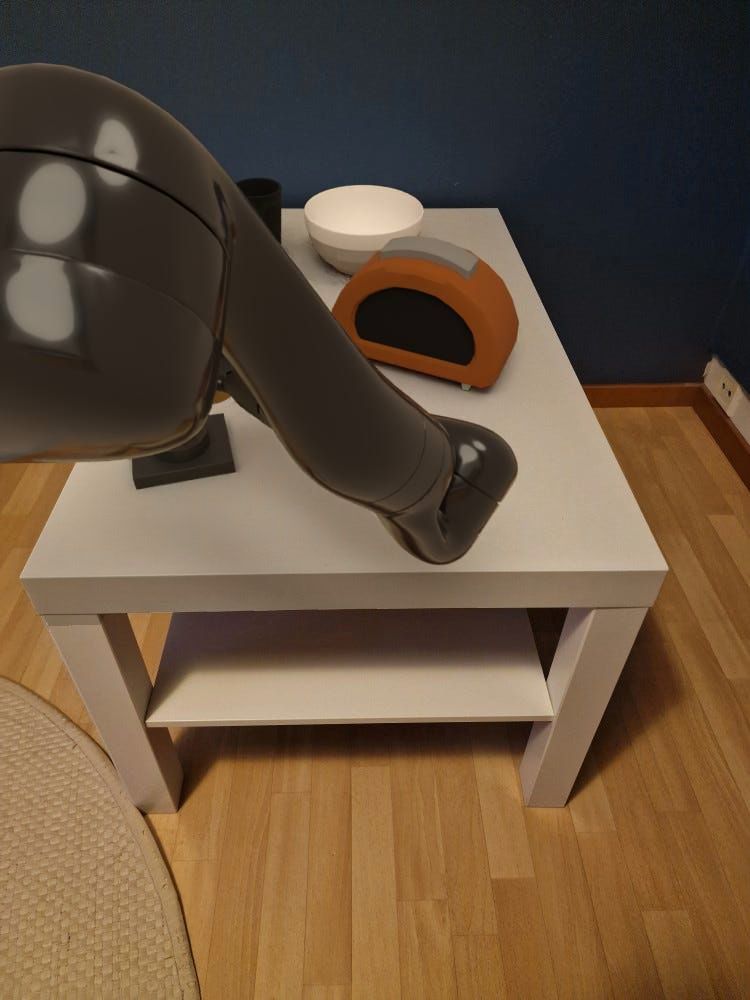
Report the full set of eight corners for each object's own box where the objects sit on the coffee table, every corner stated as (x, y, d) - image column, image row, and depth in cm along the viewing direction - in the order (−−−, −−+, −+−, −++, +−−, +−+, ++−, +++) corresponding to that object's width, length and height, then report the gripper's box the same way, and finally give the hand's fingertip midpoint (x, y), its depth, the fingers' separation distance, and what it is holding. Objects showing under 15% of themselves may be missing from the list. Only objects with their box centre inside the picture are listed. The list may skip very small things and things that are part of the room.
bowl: (411, 233, 122) (413, 183, 115) (429, 286, 109) (433, 232, 102) (304, 237, 120) (301, 186, 114) (310, 292, 107) (306, 237, 101)
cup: (265, 277, 110) (256, 201, 101) (231, 263, 113) (220, 188, 105) (297, 259, 114) (291, 185, 106) (263, 246, 118) (256, 173, 109)
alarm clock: (330, 357, 95) (325, 239, 83) (357, 325, 100) (357, 211, 88) (493, 401, 88) (514, 281, 76) (513, 365, 94) (535, 247, 82)
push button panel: (136, 489, 76) (128, 466, 74) (133, 438, 82) (126, 415, 80) (235, 472, 78) (231, 449, 76) (225, 423, 84) (221, 400, 82)
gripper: (359, 322, 58) (236, 255, 67) (223, 393, 51) (104, 309, 60) (360, 393, 64) (246, 323, 72) (236, 467, 57) (125, 380, 65)
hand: (182, 317), depth 66 cm, fingers closed on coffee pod, 4 cm apart
